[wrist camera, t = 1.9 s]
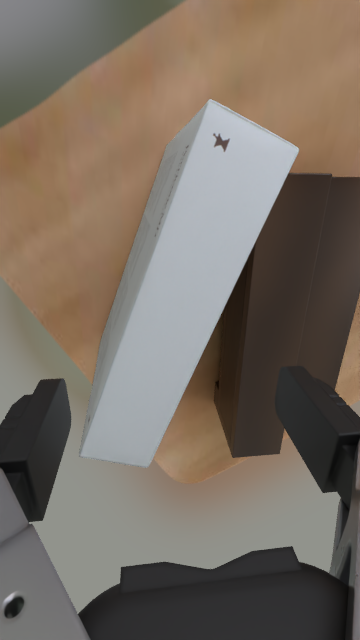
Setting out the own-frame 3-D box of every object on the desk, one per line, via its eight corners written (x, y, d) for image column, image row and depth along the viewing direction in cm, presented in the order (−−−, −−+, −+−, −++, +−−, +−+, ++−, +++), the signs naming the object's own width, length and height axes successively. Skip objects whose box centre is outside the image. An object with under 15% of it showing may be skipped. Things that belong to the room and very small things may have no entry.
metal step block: (367, 178, 30) (451, 175, 22) (317, 394, 40) (361, 447, 32) (228, 176, 28) (262, 172, 20) (213, 400, 39) (232, 458, 31)
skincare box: (146, 355, 35) (147, 473, 21) (99, 341, 34) (67, 457, 19) (222, 167, 28) (306, 146, 14) (167, 140, 27) (196, 86, 12)
